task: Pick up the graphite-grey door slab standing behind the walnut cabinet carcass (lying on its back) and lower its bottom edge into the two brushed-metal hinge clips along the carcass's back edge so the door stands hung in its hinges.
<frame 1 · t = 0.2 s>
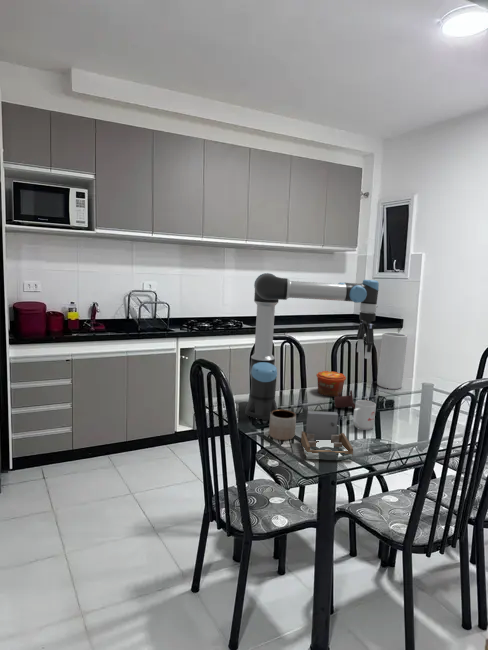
hand: (363, 355, 224), 28 cm above the table, fingers open, 13 cm apart
vase: (389, 386, 274), on the table
mug: (361, 428, 204), on the table
door: (320, 440, 187), on the table
food container: (329, 393, 253), on the table
bracket: (351, 409, 228), on the table
carcass: (325, 451, 177), on the table
planter: (281, 436, 190), on the table
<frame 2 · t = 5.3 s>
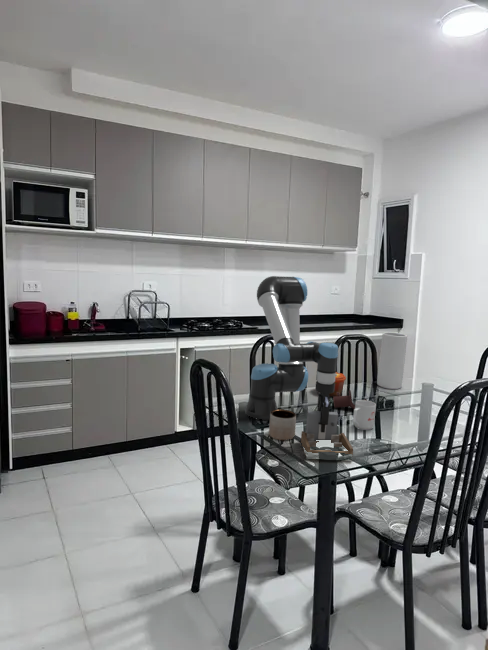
hand: (320, 437, 187), 2 cm above the table, fingers closed on door, 3 cm apart
door: (320, 440, 187), on the table, touching gripper
everything else where it was.
when the fingers open (5 cm above the table, at t = 8.9 s): door drops 2 cm, resting on carcass.
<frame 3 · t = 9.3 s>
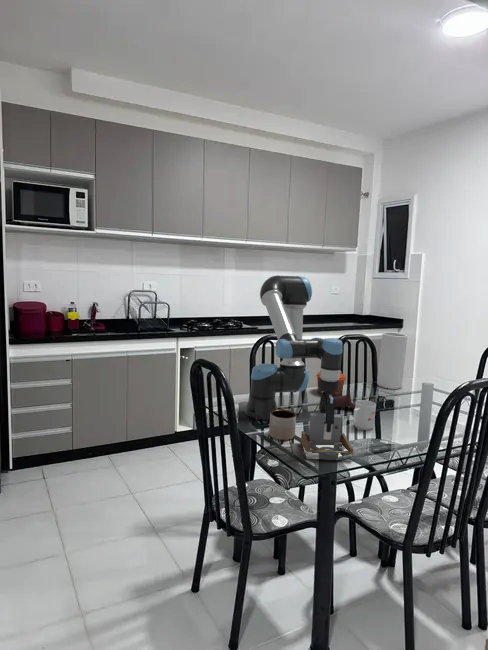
hand: (324, 433, 180), 6 cm above the table, fingers open, 9 cm apart
door: (323, 444, 181), point 1 cm above the table, touching carcass
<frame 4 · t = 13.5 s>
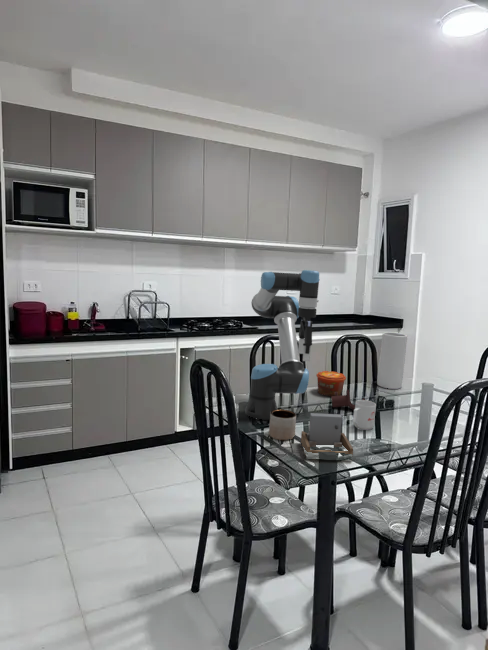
hand: (303, 357, 194), 32 cm above the table, fingers open, 13 cm apart
at the end: door 0.0 cm from the target spot on the carcass, point 1.3 cm above the carcass's base; door tilted 0°; the gripper is holding nothing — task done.
